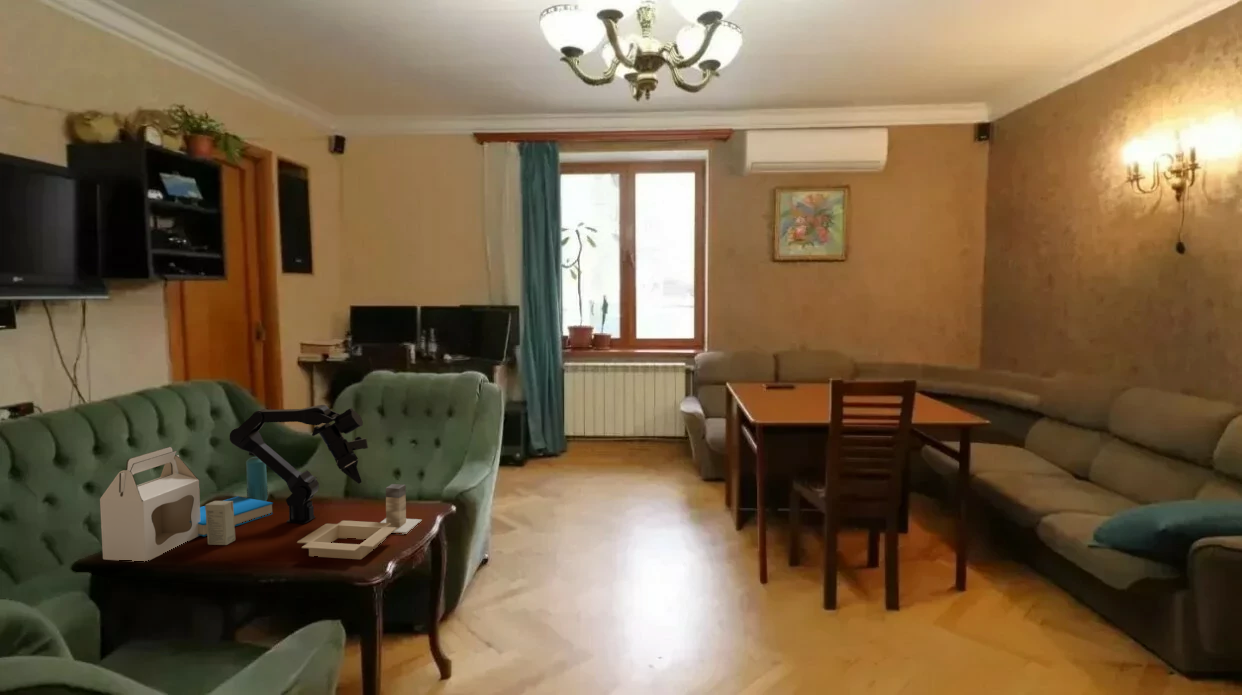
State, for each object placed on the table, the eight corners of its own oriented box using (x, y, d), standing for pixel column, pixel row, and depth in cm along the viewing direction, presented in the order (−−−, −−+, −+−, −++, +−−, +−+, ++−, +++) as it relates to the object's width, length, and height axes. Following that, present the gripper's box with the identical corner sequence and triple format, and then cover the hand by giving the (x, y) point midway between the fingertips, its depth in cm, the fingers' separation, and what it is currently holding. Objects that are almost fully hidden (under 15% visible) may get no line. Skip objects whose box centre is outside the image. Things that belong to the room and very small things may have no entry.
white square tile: (369, 532, 221) (369, 529, 221) (386, 519, 233) (386, 517, 233) (406, 534, 219) (406, 532, 219) (421, 521, 231) (421, 519, 231)
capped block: (386, 526, 224) (385, 487, 223) (392, 521, 228) (392, 483, 227) (399, 527, 223) (399, 488, 222) (406, 522, 228) (405, 484, 227)
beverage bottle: (270, 504, 247) (269, 448, 245) (250, 508, 242) (248, 451, 240) (264, 500, 251) (262, 445, 249) (244, 504, 247) (242, 447, 245)
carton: (290, 560, 198) (289, 546, 198) (332, 532, 220) (332, 519, 220) (366, 565, 195) (366, 551, 195) (401, 536, 218) (401, 523, 217)
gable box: (144, 563, 195) (140, 463, 192) (101, 560, 196) (96, 461, 194) (202, 535, 217) (198, 445, 214) (162, 532, 218) (158, 443, 216)
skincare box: (236, 540, 212) (234, 500, 211) (226, 545, 208) (225, 505, 207) (215, 539, 213) (214, 499, 212) (206, 544, 209) (204, 504, 208)
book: (273, 502, 237) (204, 522, 214) (273, 514, 237) (204, 536, 214) (236, 495, 243) (165, 515, 220) (236, 508, 244) (165, 528, 220)
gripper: (359, 428, 223) (384, 470, 225) (356, 427, 241) (380, 466, 242) (325, 446, 219) (351, 489, 221) (325, 444, 236) (349, 484, 238)
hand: (359, 481), depth 231 cm, fingers open, 9 cm apart
